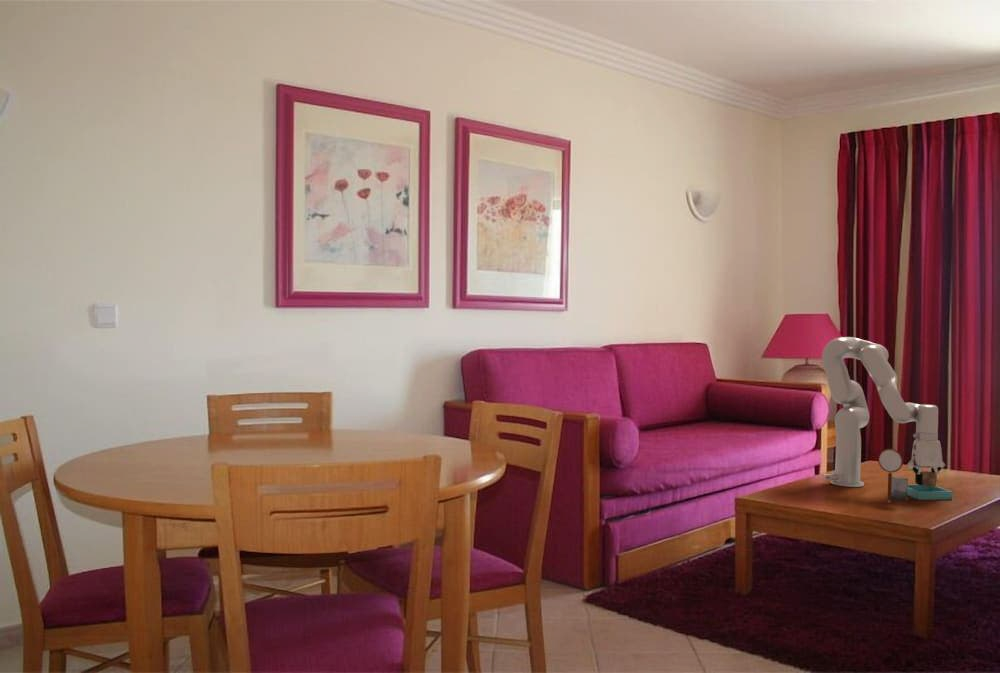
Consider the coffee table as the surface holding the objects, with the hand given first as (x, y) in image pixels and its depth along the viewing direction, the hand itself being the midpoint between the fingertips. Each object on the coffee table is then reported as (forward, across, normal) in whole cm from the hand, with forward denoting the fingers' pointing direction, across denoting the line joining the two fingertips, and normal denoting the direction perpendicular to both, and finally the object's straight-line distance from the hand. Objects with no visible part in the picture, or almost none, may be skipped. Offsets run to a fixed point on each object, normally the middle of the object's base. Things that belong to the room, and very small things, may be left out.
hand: (925, 483), depth 342 cm
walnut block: (+1, 0, 0) cm, 1 cm away
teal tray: (+5, 0, 0) cm, 5 cm away
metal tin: (+5, -14, -6) cm, 16 cm away
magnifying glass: (+5, -21, -12) cm, 25 cm away
